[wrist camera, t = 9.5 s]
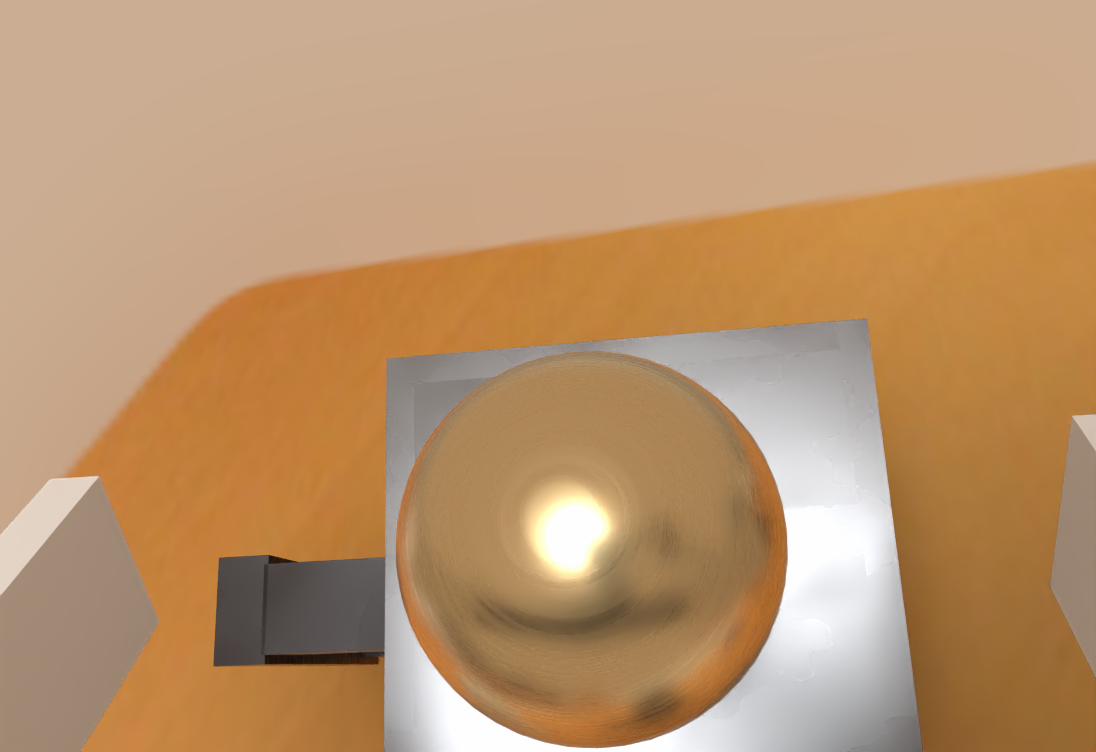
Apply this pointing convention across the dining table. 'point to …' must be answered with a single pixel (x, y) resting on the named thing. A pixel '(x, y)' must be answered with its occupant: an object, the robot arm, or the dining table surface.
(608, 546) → the plunger
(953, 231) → the dining table surface
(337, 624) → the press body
